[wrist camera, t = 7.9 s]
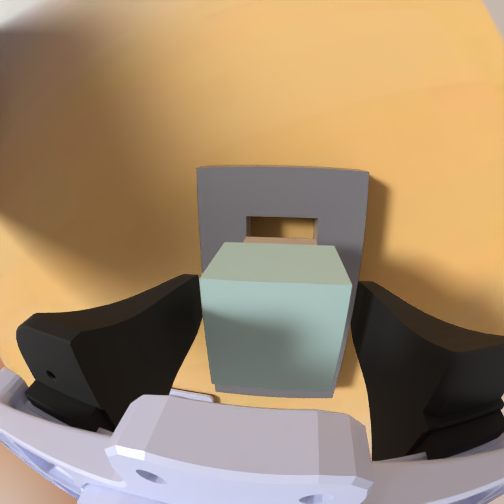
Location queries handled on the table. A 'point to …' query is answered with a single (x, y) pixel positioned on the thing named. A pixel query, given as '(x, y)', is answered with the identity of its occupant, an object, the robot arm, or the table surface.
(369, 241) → the table surface
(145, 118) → the table surface
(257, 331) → the plug
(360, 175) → the grey peg board
